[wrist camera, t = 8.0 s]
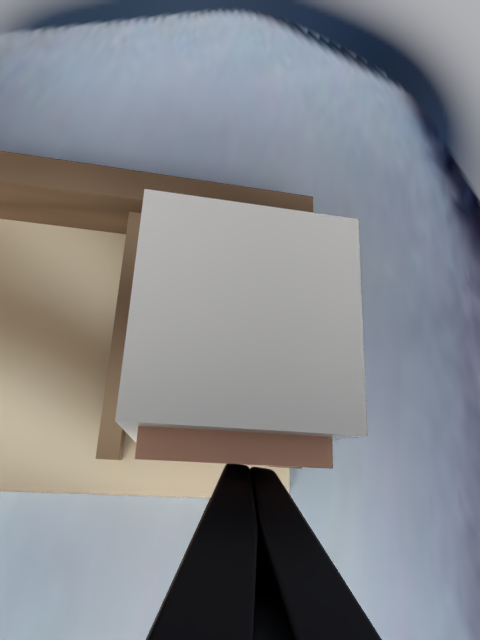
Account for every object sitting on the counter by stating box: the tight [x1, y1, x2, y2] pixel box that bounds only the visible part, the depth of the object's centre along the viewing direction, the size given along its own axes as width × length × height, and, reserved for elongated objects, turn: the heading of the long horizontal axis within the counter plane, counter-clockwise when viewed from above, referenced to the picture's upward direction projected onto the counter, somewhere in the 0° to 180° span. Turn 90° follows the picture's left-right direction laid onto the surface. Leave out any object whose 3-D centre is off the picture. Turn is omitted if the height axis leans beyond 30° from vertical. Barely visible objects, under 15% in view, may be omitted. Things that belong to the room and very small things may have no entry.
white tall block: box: [115, 189, 367, 468], centre depth 11 cm, size 4×4×8 cm
